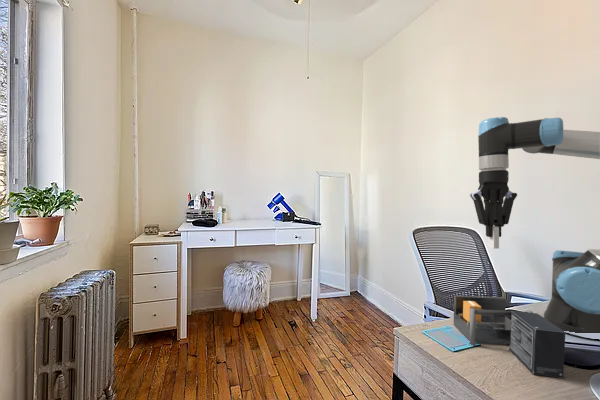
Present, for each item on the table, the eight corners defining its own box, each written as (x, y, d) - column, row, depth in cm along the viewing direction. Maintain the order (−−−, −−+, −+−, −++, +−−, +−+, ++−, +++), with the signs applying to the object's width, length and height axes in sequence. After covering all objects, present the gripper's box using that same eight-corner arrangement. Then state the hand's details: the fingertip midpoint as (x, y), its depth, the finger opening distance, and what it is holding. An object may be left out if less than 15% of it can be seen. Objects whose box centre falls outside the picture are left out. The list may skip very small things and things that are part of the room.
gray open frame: (529, 347, 76) (530, 310, 75) (532, 349, 74) (533, 312, 74) (468, 343, 77) (469, 308, 77) (470, 346, 76) (471, 309, 76)
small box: (566, 379, 63) (568, 332, 62) (532, 375, 64) (534, 329, 64) (537, 352, 73) (538, 312, 73) (508, 349, 74) (509, 309, 74)
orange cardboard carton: (473, 317, 83) (474, 300, 83) (481, 323, 79) (481, 306, 79) (462, 317, 84) (463, 300, 83) (469, 323, 80) (469, 305, 80)
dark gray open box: (502, 327, 87) (503, 297, 86) (525, 345, 76) (526, 311, 76) (452, 324, 88) (453, 295, 88) (469, 342, 78) (469, 309, 77)
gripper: (506, 171, 91) (506, 245, 91) (464, 171, 91) (465, 245, 91) (524, 168, 83) (524, 249, 84) (478, 169, 84) (479, 250, 84)
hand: (493, 247), depth 88 cm, fingers closed
